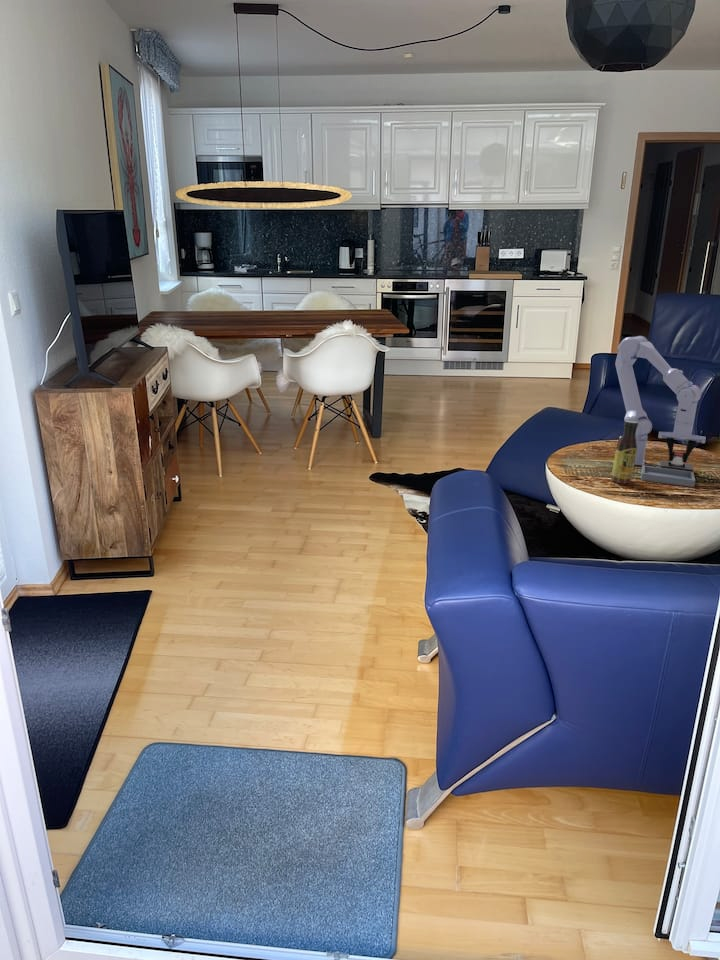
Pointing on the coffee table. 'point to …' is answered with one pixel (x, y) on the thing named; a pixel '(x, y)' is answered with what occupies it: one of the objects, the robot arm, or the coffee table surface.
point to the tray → (668, 476)
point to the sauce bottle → (625, 454)
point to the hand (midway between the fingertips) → (677, 460)
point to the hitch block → (685, 467)
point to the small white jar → (677, 458)
